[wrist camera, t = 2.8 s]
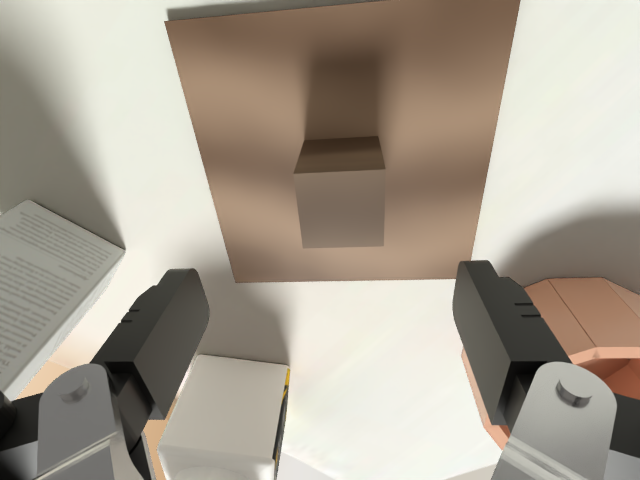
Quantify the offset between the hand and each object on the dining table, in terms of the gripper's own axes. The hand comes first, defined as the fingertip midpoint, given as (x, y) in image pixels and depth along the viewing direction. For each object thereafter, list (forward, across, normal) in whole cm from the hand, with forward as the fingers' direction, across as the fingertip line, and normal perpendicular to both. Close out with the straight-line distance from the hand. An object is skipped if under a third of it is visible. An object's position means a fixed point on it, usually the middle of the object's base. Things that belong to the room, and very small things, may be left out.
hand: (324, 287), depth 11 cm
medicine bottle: (+9, +8, +18) cm, 22 cm away
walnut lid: (+9, 0, 0) cm, 9 cm away
